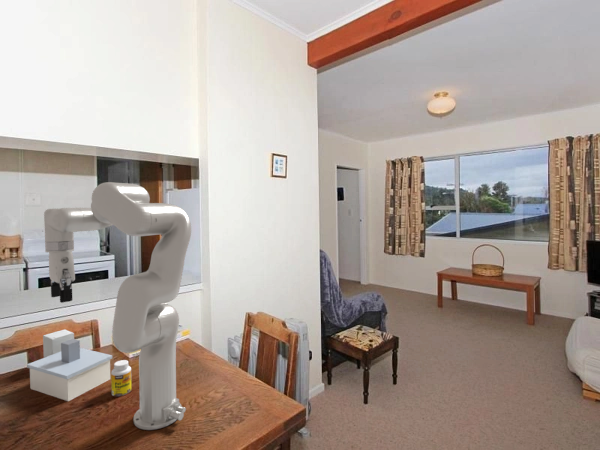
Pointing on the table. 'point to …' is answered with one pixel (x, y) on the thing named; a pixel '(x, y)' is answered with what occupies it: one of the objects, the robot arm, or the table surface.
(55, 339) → the supplement box
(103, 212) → the robot arm
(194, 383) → the table surface
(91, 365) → the lid
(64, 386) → the storage box
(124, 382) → the supplement bottle
